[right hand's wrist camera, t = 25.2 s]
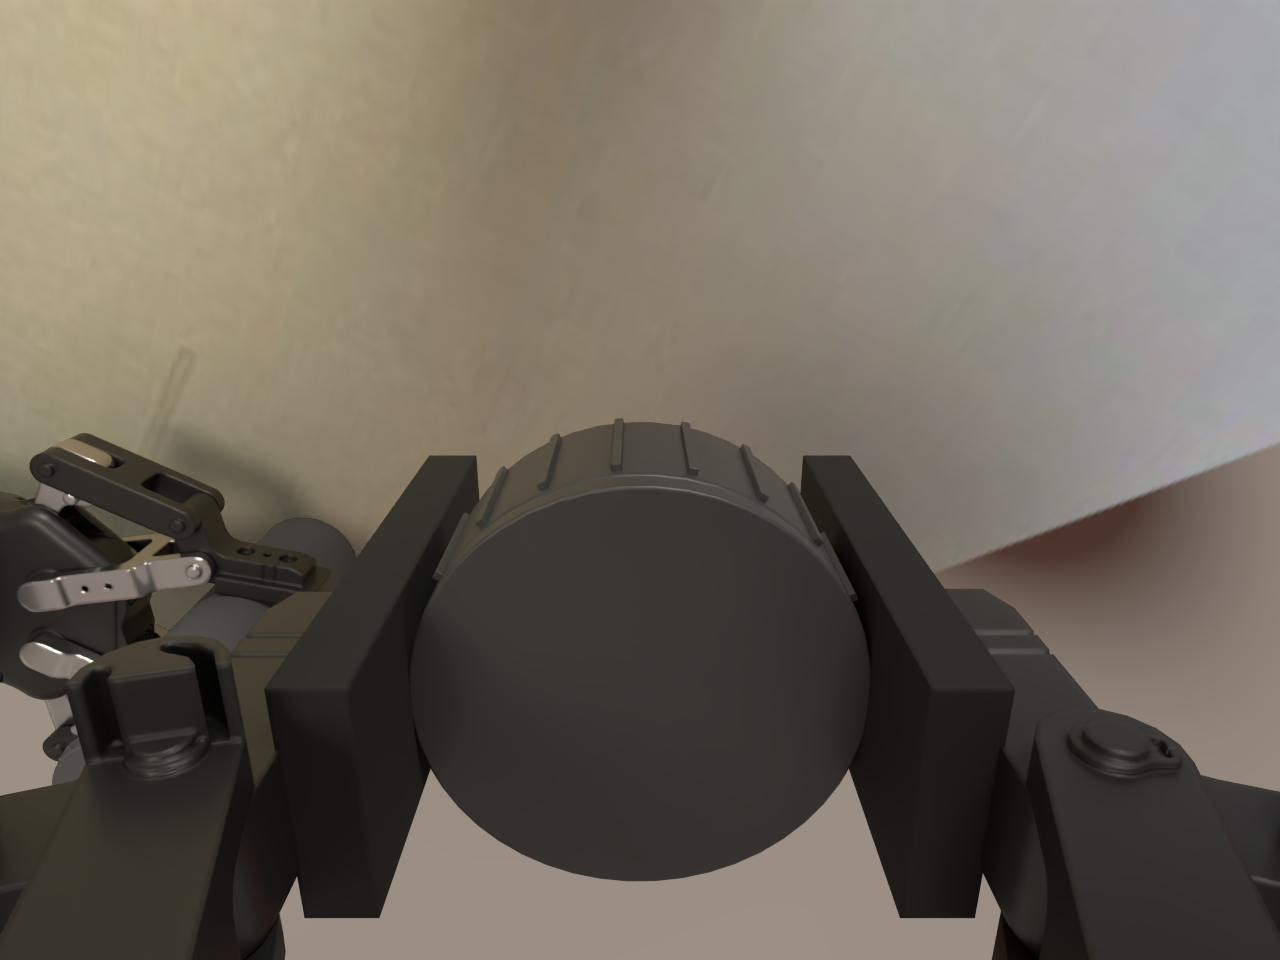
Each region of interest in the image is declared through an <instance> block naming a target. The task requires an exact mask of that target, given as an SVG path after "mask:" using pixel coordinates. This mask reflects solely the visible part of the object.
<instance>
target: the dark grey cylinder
mask: <svg viewBox="0 0 1280 960" xmlns="http://www.w3.org/2000/svg"><path fill="white" fill-rule="evenodd" d="M256 544H258V545H264V546H270V547H275V548H278V549H280V548H281V549H286V550H288V551H290V550H292V551H298V552H303V553H306V554H307V555H309V556H311V557H313V558H315V559H317V560H316V566H321V567H325V568H328V569H329V570H330V571H331V576H330V588H329V590H328V591H327V592H333V591H334V589H335V588H336V587H337V585H338V584H339V582H340V581H341V579H342V578H343V577H344V575H345V574H346V572H347V571H348V570H349V568H350V567H351V565H352V564H353V563H354V561H355V560H356V557H355V554H354V551H353V549H352V547H351V545H350V544H349V542H348V541H347V539H346V538H345V537H344V536H343V535H342V534H341V533H340V532H339V531H337V530H336V529H335V528H333V527H332V526H330V525H328V524H326V523H324V522H321V521H318V520H315V519H310V518H294V519H289V520H286V521H283V522H281V523H279V524H277V525H275V526H274V527H273V528H272V529H270V530H269V531H268V532H267V533H266V534H265V535H264V536H263V537H262V538H261V539H260V540H259V541H258V542H257V543H256ZM275 605H276V604H272V603H267V602H261V601H255V600H249V599H244V598H239V597H232V596H226V595H220V594H215V586H214V587H213V588H212V589H211V590H210V591H209V592H208V593H207V594H206V595H205V596H204V597H203V598H202V599H201V600H200V601H199V602H198V603H197V604H196V605H195V606H194V607H193V608H192V609H191V610H190V611H189V612H188V613H187V614H186V615H185V616H184V617H183V618H182V619H181V620H180V621H179V622H178V623H177V624H176V625H175V626H174V627H173V628H172V629H171V630H170V631H169V632H168V633H167V634H166V635H165V636H183V635H197V636H201V637H206V638H211V639H216V640H218V641H219V642H220V643H222V644H223V645H224V646H226V647H227V648H228V649H229V651H230V657H231V652H232V651H233V649H234V648H235V647H236V646H237V645H238V643H239V642H240V641H241V640H242V639H243V638H246V636H247V635H246V634H247V633H248V631H249V630H250V629H251V628H252V627H253V625H254V624H255V623H256V622H257V621H258V619H259V618H260V617H261V616H262V615H263V613H264V612H265V611H266V610H268V609H270V608H271V607H273V606H275ZM165 636H164V637H165ZM85 764H86V763H85V759H84V756H83V752H82V748H81V745H80V741H79V737H78V738H77V739H76V740H74V741H73V742H71V743H70V744H69V745H68V746H67V747H66V749H65V751H64V752H63V754H62V755H61V757H60V758H59V760H58V764H57V766H56V768H55V771H54V774H53V779H52V785H57V784H62V783H66V782H69V781H73V780H77V779H78V778H79V776H80V774H81V772H82V770H83V768H84V766H85Z"/></svg>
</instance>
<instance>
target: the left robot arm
mask: <svg viewBox="0 0 1280 960" xmlns="http://www.w3.org/2000/svg"><path fill="white" fill-rule="evenodd" d="M30 471H31V473H32V475H33V476H34V478H35V479H36V480H38V481H39V482H40V484H39V488H38V491H37V495H36V498H33V499H28V500H27V499H25V498H23V497H20V496H18V495H14V494H9V493H4V492H0V682H1V683H5V684H8V685H10V686H12V687H15V688H17V689H19V690H20V691H22V692H24V693H25V694H27V695H28V696H31V697H33V698H36V699H41V700H45V702H46V705H47V708H48V710H49V713H50V716H51V719H52V721H53V724H54V727H55V731H54V732H53V733H52V734H51V735H50V736H49V737H48V738H47V739H46V740H45V741H44V743H43V750H44V752H45V754H46V755H47V756H48V757H49V758H51V759H53V760H55V761H58V760H59V758H60V757H61V755H62V754H63V752H64V751H65V749H66V747H67V746H68V745H69V744H70V743H71V742H73V741H74V740H76V739H77V738H78V734H77V730H76V726H75V723H74V719H73V715H72V711H71V708H70V704H69V700H68V697H67V693H66V689H65V686H64V685H65V684H66V683H67V682H68V681H69V680H70V679H71V677H72V676H73V675H74V674H75V673H76V672H77V671H78V670H79V669H80V668H82V667H84V666H85V665H87V664H89V663H90V662H92V661H94V660H95V659H97V658H99V657H101V656H102V655H104V654H106V653H109V652H111V651H114V650H117V649H119V648H122V647H125V646H127V645H130V644H133V643H136V642H140V641H145V640H150V639H155V638H160V637H164V636H165V635H166V634H167V633H168V632H169V631H170V630H168V629H166V628H164V627H161V626H159V625H157V624H155V619H154V616H153V612H152V609H151V606H150V598H151V595H152V592H155V591H159V590H167V589H176V588H185V587H195V586H202V585H204V584H206V583H207V582H209V583H215V594H220V595H226V596H232V597H239V598H244V599H249V600H255V601H261V602H267V603H272V604H278V603H280V602H281V601H283V600H285V599H286V598H288V597H289V596H291V595H293V594H294V593H296V592H327V591H328V590H329V588H330V576H331V571H330V570H329V569H328V568H325V567H321V566H316V560H317V559H315V558H313V557H311V556H309V555H307V554H306V553H303V552H298V551H292V550H290V551H288V550H286V549H281V548H280V549H278V548H275V547H270V546H264V545H258V544H253V543H247V542H242V541H239V540H237V539H236V538H235V537H234V536H233V535H232V534H231V533H229V532H228V531H227V530H226V527H225V525H224V522H223V519H222V516H221V513H220V512H221V511H222V510H223V508H224V504H225V502H224V498H223V496H222V494H221V493H220V492H219V491H218V490H216V489H215V488H212V487H210V486H208V485H206V484H203V483H201V482H199V481H196V480H194V479H192V478H189V477H187V476H185V475H183V474H180V473H178V472H176V471H173V470H171V469H169V468H167V467H164V466H162V465H160V464H157V463H155V462H153V461H150V460H148V459H146V458H144V457H141V456H139V455H137V454H134V453H132V452H130V451H128V450H125V449H123V448H121V447H118V446H116V445H114V444H111V443H109V442H107V441H105V440H102V439H100V438H98V437H95V436H93V435H91V434H87V433H82V434H78V435H76V436H74V437H72V438H70V439H67V440H64V441H62V442H60V443H58V444H56V445H54V446H52V447H50V448H48V449H47V450H46V451H44V452H42V453H40V454H38V455H36V456H34V457H33V458H32V459H31V461H30ZM92 505H94V506H97V507H99V508H101V509H104V510H106V511H108V512H111V513H113V514H116V515H118V516H120V517H123V518H125V519H127V520H130V521H132V522H134V523H137V524H139V525H142V526H144V527H146V528H149V529H151V530H153V531H156V532H158V533H155V534H146V535H137V536H129V537H119V536H117V535H116V534H115V533H114V532H112V531H111V530H110V529H109V528H108V527H106V526H105V525H104V524H103V523H101V522H100V521H99V520H98V519H96V518H95V517H94V516H93V515H91V514H90V513H89V512H88V511H86V510H85V509H84V508H83V507H90V506H92Z"/></svg>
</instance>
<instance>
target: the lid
mask: <svg viewBox="0 0 1280 960" xmlns="http://www.w3.org/2000/svg"><path fill="white" fill-rule="evenodd" d="M432 578H433V579H435V580H437V581H438V582H437V584H436V586H435V589H434V591H433V593H432V595H431V597H430V599H429V601H428V603H427V606H426V608H425V610H424V612H423V615H422V617H421V620H420V623H419V626H418V628H417V631H416V634H415V637H414V641H413V646H412V652H411V657H410V662H409V687H410V697H411V706H412V715H413V723H414V728H415V731H416V735H417V739H418V742H419V744H420V747H421V749H422V751H423V753H424V756H425V758H426V760H427V763H428V765H429V767H430V768H431V770H432V771H433V773H434V775H435V776H436V778H437V780H438V781H439V783H440V784H441V786H442V787H443V789H444V790H445V791H446V792H447V794H448V795H449V796H450V797H451V798H452V800H453V801H454V802H455V803H456V805H457V806H458V807H459V808H460V809H461V810H462V811H463V812H464V813H465V814H466V815H467V816H468V817H470V818H471V819H472V820H473V821H474V822H475V823H476V824H477V825H478V826H479V827H481V828H482V829H483V830H485V831H486V832H488V833H489V834H490V835H492V836H493V837H494V838H496V839H497V840H498V841H500V842H502V843H504V844H505V845H507V846H509V847H510V848H512V849H514V850H516V851H517V852H519V853H521V854H523V855H525V856H527V857H530V858H532V859H534V860H537V861H539V862H541V863H543V864H546V865H549V866H552V867H555V868H558V869H561V870H564V871H568V872H571V873H575V874H580V875H585V876H590V877H595V878H600V879H610V880H620V881H660V880H669V879H678V878H685V877H689V876H694V875H699V874H703V873H708V872H712V871H715V870H718V869H721V868H724V867H727V866H730V865H733V864H736V863H738V862H740V861H743V860H745V859H747V858H749V857H751V856H754V855H756V854H758V853H760V852H762V851H764V850H765V849H767V848H769V847H770V846H772V845H774V844H775V843H777V842H779V841H780V840H782V839H784V838H785V837H786V836H788V835H789V834H790V833H792V832H793V831H794V830H795V829H797V828H798V827H799V826H801V825H802V824H803V823H805V822H806V821H807V820H808V819H809V818H810V817H811V816H812V815H813V814H814V813H815V812H816V811H817V810H818V809H819V808H820V807H821V806H822V805H823V804H824V803H825V802H826V800H827V799H828V798H829V796H830V795H831V794H832V793H833V792H834V790H835V789H836V788H837V787H838V785H839V784H840V782H841V781H842V779H843V777H844V776H845V774H846V772H847V771H848V769H849V767H850V766H851V764H852V762H853V760H854V758H855V755H856V753H857V751H858V748H859V746H860V743H861V741H862V739H863V735H864V730H865V722H866V714H867V705H868V696H869V686H870V675H871V658H870V654H869V649H868V644H867V639H866V634H865V632H864V629H863V626H862V624H861V621H860V618H859V616H858V613H857V610H856V608H855V606H854V604H853V602H854V601H857V600H858V598H857V595H856V593H855V591H854V589H853V587H852V585H851V583H850V581H849V579H848V577H847V575H846V573H845V571H844V569H843V567H842V565H841V563H840V561H839V560H838V558H837V556H836V554H835V552H834V550H833V548H832V546H831V544H830V542H829V540H828V538H827V536H826V534H825V532H822V533H819V531H818V529H817V527H816V525H815V523H814V521H813V519H812V516H811V514H810V512H809V510H808V508H807V506H806V504H805V502H804V500H803V498H802V496H801V494H800V492H799V490H798V488H797V487H796V485H795V484H794V483H793V482H792V483H790V484H789V485H787V484H786V483H785V482H784V481H783V480H782V479H781V478H780V477H779V476H778V475H777V474H776V473H775V472H774V471H773V470H772V469H771V468H769V467H768V466H766V465H765V464H764V463H762V462H761V461H760V460H758V459H757V458H756V457H754V456H753V455H752V452H751V450H750V447H748V446H746V445H745V444H742V446H741V448H739V447H737V446H736V445H734V444H732V443H730V442H728V441H726V440H723V439H721V438H718V437H716V436H713V435H710V434H708V433H705V432H702V431H698V430H694V429H690V424H689V423H686V422H681V426H678V425H669V424H661V423H653V422H636V423H624V422H623V418H621V419H615V424H611V425H603V426H597V427H593V428H589V429H586V430H582V431H578V432H574V433H571V434H569V435H566V436H564V437H560V435H559V434H556V435H553V436H551V440H550V442H549V443H547V444H545V445H544V446H542V447H540V448H538V449H537V450H535V451H533V452H531V453H530V454H528V455H526V456H525V457H524V458H522V459H521V460H520V461H518V462H517V463H516V464H514V465H513V466H512V467H510V468H509V469H508V470H507V469H506V468H505V467H504V466H503V467H502V468H501V469H500V470H498V473H497V475H496V477H495V479H494V482H493V484H492V485H491V486H490V487H489V488H488V490H487V491H486V492H485V494H484V495H483V496H482V498H481V499H480V500H479V502H478V503H477V504H476V506H475V507H474V509H473V511H472V512H471V514H470V515H469V514H467V513H464V514H463V516H462V518H461V520H460V522H459V524H458V526H457V528H456V530H455V532H454V534H453V536H452V538H451V540H450V542H449V544H448V546H447V548H446V550H445V552H444V554H443V556H442V558H441V560H440V563H439V565H438V567H437V569H436V571H435V573H434V575H433V577H432Z"/></svg>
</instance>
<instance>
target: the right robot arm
mask: <svg viewBox="0 0 1280 960" xmlns="http://www.w3.org/2000/svg"><path fill="white" fill-rule="evenodd" d="M801 496H802V498H803V500H804V502H805V504H806V506H807V508H808V510H809V512H810V514H811V516H812V519H813V521H814V523H815V525H816V527H817V529H818V531H819V533H822V532H825V534H826V536H827V538H828V540H829V542H830V544H831V546H832V548H833V550H834V552H835V554H836V556H837V558H838V560H839V561H840V563H841V565H842V567H843V569H844V571H845V573H846V575H847V577H848V579H849V581H850V583H851V585H852V587H853V589H854V591H855V593H856V595H857V598H858V600H857V601H854V602H853V604H854V606H855V608H856V610H857V613H858V616H859V618H860V621H861V624H862V626H863V629H864V632H865V634H866V639H867V644H868V649H869V654H870V658H871V675H870V686H869V696H868V705H867V714H866V722H865V730H864V735H863V739H862V741H861V743H860V746H859V748H858V751H857V753H856V755H855V758H854V760H853V762H852V764H851V766H850V767H849V770H850V773H851V776H852V779H853V782H854V785H855V788H856V791H857V794H858V797H859V800H860V802H861V805H862V808H863V811H864V814H865V817H866V820H867V823H868V826H869V829H870V831H871V834H872V837H873V840H874V843H875V846H876V849H877V852H878V855H879V858H880V861H881V864H882V867H883V870H884V872H885V875H886V878H887V881H888V884H889V887H890V890H891V893H892V896H893V899H894V902H895V905H896V907H897V910H898V913H899V916H900V918H975V914H976V908H977V903H978V897H979V891H980V886H981V880H982V874H984V876H985V878H986V880H987V882H988V884H989V886H990V889H991V891H992V893H993V895H994V897H995V899H996V901H997V903H998V905H999V907H1000V909H1001V914H1000V919H999V925H998V930H997V935H996V940H995V945H994V951H993V956H992V960H1280V792H1278V791H1273V790H1268V789H1263V788H1258V787H1253V786H1248V785H1243V784H1238V783H1233V782H1228V781H1223V780H1218V779H1214V778H1210V777H1206V776H1202V775H1200V773H1199V771H1198V769H1197V767H1196V765H1195V763H1194V762H1193V760H1192V759H1191V758H1190V757H1189V755H1188V754H1187V753H1186V752H1185V751H1184V749H1183V748H1182V747H1181V746H1180V745H1179V744H1178V743H1177V742H1175V741H1174V740H1172V739H1171V738H1169V737H1168V736H1167V735H1165V734H1164V733H1162V732H1161V731H1159V730H1158V729H1156V728H1154V727H1152V726H1150V725H1147V724H1145V723H1143V722H1140V721H1138V720H1136V719H1134V718H1131V717H1129V716H1126V715H1122V714H1118V713H1113V712H1109V711H1105V710H1101V709H1098V707H1097V706H1096V705H1095V704H1094V703H1093V701H1092V700H1091V699H1090V698H1089V697H1088V695H1087V694H1086V693H1085V692H1084V691H1083V689H1082V688H1081V687H1080V686H1079V685H1078V684H1077V682H1076V681H1075V680H1074V679H1073V677H1072V676H1071V675H1070V674H1069V673H1068V672H1067V670H1066V669H1065V668H1064V667H1063V666H1062V664H1061V663H1060V662H1059V661H1058V660H1057V658H1056V657H1055V656H1054V655H1053V654H1049V649H1048V648H1047V646H1046V645H1045V644H1044V643H1043V642H1042V640H1041V639H1040V638H1039V637H1038V636H1037V635H1034V634H1033V630H1032V629H1031V627H1030V626H1029V625H1028V624H1027V622H1026V621H1025V620H1024V619H1023V618H1022V616H1021V615H1020V614H1019V613H1018V612H1017V610H1016V609H1015V608H1013V607H1012V606H1010V605H1008V604H1007V603H1005V602H1003V601H1002V600H1000V599H998V598H997V597H995V596H993V595H992V594H990V593H989V592H987V591H985V590H984V589H944V587H943V586H942V585H941V583H940V582H939V580H938V579H937V578H936V576H935V575H934V573H933V572H932V571H931V569H930V568H929V566H928V565H927V563H926V562H925V561H924V559H923V558H922V556H921V555H920V554H919V552H918V551H917V549H916V548H915V547H914V545H913V544H912V542H911V541H910V540H909V538H908V537H907V535H906V534H905V532H904V531H903V530H902V528H901V527H900V525H899V524H898V523H897V521H896V520H895V518H894V517H893V516H892V514H891V513H890V511H889V510H888V509H887V507H886V506H885V504H884V503H883V502H882V500H881V499H880V497H879V496H878V494H877V493H876V492H875V490H874V489H873V487H872V486H871V485H870V483H869V482H868V480H867V479H866V478H865V476H864V475H863V473H862V472H861V471H860V469H859V468H858V466H857V465H856V463H855V462H854V461H853V459H852V458H851V456H803V465H802V480H801ZM478 502H479V488H478V474H477V459H476V456H429V457H428V458H427V460H426V461H425V463H424V464H423V465H422V467H421V468H420V470H419V471H418V472H417V474H416V475H415V477H414V478H413V480H412V481H411V482H410V484H409V485H408V487H407V488H406V489H405V491H404V492H403V494H402V495H401V496H400V498H399V499H398V501H397V502H396V503H395V505H394V506H393V508H392V509H391V511H390V512H389V513H388V515H387V516H386V518H385V519H384V520H383V522H382V523H381V525H380V526H379V527H378V529H377V530H376V532H375V533H374V534H373V536H372V537H371V539H370V540H369V541H368V543H367V544H366V546H365V547H364V549H363V550H362V551H361V553H360V554H359V556H358V557H357V558H356V560H355V561H354V563H353V564H352V565H351V567H350V568H349V570H348V571H347V572H346V574H345V575H344V577H343V578H342V579H341V581H340V582H339V584H338V585H337V587H336V588H335V589H334V591H333V592H296V593H294V594H293V595H291V596H289V597H288V598H286V599H285V600H283V601H281V602H280V603H278V604H276V605H275V606H273V607H271V608H270V609H268V610H266V611H265V612H264V613H263V615H262V616H261V617H260V618H259V619H258V621H257V622H256V623H255V624H254V625H253V627H252V628H251V629H250V630H249V631H248V633H247V634H246V635H247V636H246V638H243V639H242V640H241V641H240V642H239V643H238V645H237V646H236V647H235V648H234V649H233V651H232V652H231V657H230V651H229V649H228V648H227V647H226V646H224V645H223V644H222V643H220V642H219V641H218V640H216V639H211V638H206V637H201V636H197V635H183V636H165V637H160V638H155V639H150V640H145V641H140V642H136V643H133V644H130V645H127V646H125V647H122V648H119V649H117V650H114V651H111V652H109V653H106V654H104V655H102V656H101V657H99V658H97V659H95V660H94V661H92V662H90V663H89V664H87V665H85V666H84V667H82V668H80V669H79V670H78V671H77V672H76V673H75V674H74V675H73V676H72V677H71V679H70V680H69V681H68V682H67V683H66V684H65V685H64V686H65V689H66V693H67V697H68V700H69V704H70V708H71V711H72V715H73V719H74V723H75V726H76V730H77V734H78V737H79V741H80V745H81V748H82V752H83V756H84V759H85V763H86V764H85V766H84V768H83V770H82V772H81V774H80V776H79V778H78V779H77V780H73V781H69V782H66V783H62V784H57V785H52V786H47V787H42V788H37V789H32V790H27V791H22V792H17V793H12V794H7V795H2V796H0V960H285V952H286V951H285V943H284V936H283V930H282V924H281V919H280V914H279V913H280V911H281V909H282V906H283V904H284V902H285V900H286V898H287V896H288V894H289V892H290V890H291V888H292V886H293V883H294V881H295V879H296V877H297V878H298V883H299V889H300V895H301V900H302V905H303V911H304V917H305V918H379V917H380V914H381V912H382V909H383V906H384V903H385V900H386V897H387V894H388V891H389V888H390V885H391V882H392V880H393V877H394V874H395V871H396V868H397V865H398V862H399V859H400V856H401V853H402V850H403V847H404V845H405V842H406V839H407V836H408V833H409V830H410V827H411V824H412V821H413V818H414V815H415V813H416V810H417V807H418V804H419V801H420V798H421V795H422V792H423V789H424V786H425V783H426V780H427V777H428V775H429V772H430V769H431V768H430V767H429V765H428V763H427V760H426V758H425V756H424V753H423V751H422V749H421V747H420V744H419V742H418V739H417V735H416V731H415V728H414V723H413V715H412V706H411V697H410V687H409V662H410V657H411V652H412V646H413V641H414V637H415V634H416V631H417V628H418V626H419V623H420V620H421V617H422V615H423V612H424V610H425V608H426V606H427V603H428V601H429V599H430V597H431V595H432V593H433V591H434V589H435V586H436V584H437V582H438V581H437V580H435V579H433V578H432V577H433V575H434V573H435V571H436V569H437V567H438V565H439V563H440V560H441V558H442V556H443V554H444V552H445V550H446V548H447V546H448V544H449V542H450V540H451V538H452V536H453V534H454V532H455V530H456V528H457V526H458V524H459V522H460V520H461V518H462V516H463V514H464V513H467V514H469V515H470V514H471V512H472V511H473V509H474V507H475V506H476V504H477V503H478Z"/></svg>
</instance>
